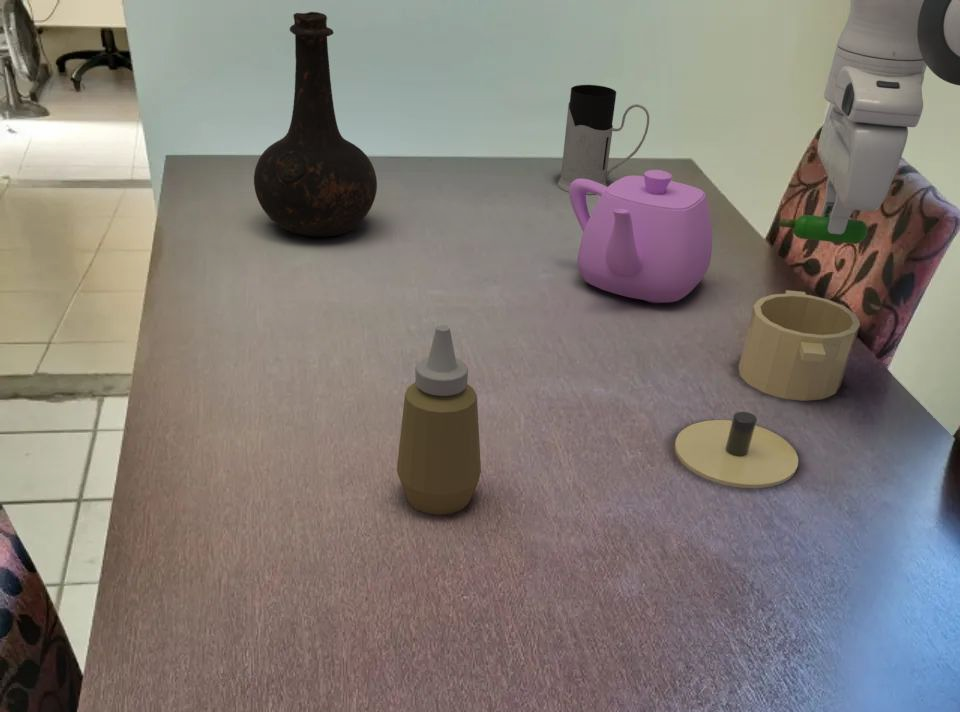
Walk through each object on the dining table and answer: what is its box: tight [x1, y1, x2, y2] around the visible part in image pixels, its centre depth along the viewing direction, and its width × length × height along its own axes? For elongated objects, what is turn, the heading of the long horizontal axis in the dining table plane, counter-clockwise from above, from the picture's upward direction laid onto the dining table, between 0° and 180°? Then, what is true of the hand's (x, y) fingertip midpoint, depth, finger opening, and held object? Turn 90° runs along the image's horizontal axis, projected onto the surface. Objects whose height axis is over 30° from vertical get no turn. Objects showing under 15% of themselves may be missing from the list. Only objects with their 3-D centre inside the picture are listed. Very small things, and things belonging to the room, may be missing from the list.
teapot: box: [568, 169, 713, 304], centre depth 132 cm, size 23×21×15 cm
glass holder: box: [557, 84, 650, 196], centre depth 164 cm, size 9×14×15 cm, turn 75°
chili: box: [778, 214, 868, 245], centre depth 106 cm, size 10×2×2 cm, turn 83°
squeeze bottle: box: [396, 324, 482, 516], centre depth 89 cm, size 8×8×18 cm
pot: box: [738, 289, 861, 402], centre depth 116 cm, size 12×17×8 cm
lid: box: [674, 411, 799, 489], centre depth 102 cm, size 13×13×5 cm
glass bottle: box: [253, 11, 378, 238], centre depth 139 cm, size 18×18×28 cm
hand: (831, 226), depth 106 cm, fingers closed on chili, 2 cm apart
